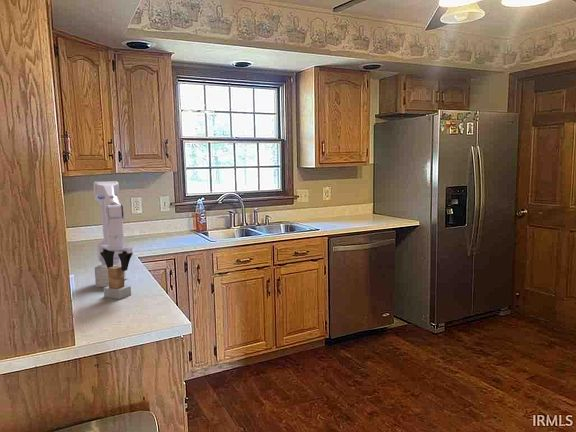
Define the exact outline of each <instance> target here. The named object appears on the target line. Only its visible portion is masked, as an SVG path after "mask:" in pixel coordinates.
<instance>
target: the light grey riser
mask: <svg viewBox="0 0 576 432" xmlns="http://www.w3.org/2000/svg"><path fill="white" fill-rule="evenodd" d="M124 285H125V284H124ZM131 295H132V289H131V285H127V284H126V285H125V286H124V287H121V288H119V289H113V288H109V286H108V287H103V297H105V298H110V299H117V300H121V299H124V298H126V297H128V296H131Z"/></svg>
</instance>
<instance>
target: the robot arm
mask: <svg viewBox="0 0 576 432" xmlns="http://www.w3.org/2000/svg"><path fill="white" fill-rule="evenodd" d="M119 184H120V183H119V182H118V181H117V180H115V181H94V182H93V195H94V196H93V198H94V200H95V202H98V203H99V205H100V207H101V208H100V210H101V223H102V234H103V239H102V240H101V241H99V242H98V244H97V246H96V247H97V249H96V251H97V252H96V253H97V261H99V262H101V265H106V266H107V268H109V267H113V265H117V266H121V268H122V271H124V281H125V280H128V277H127V276H126V271H128V268H129V263H130V262H131V261H130V260H131V259H132V256H133V247H130V246H126V245H125V240H124V239H125V238H124V217H125V210H124V204H123V203H120V199H119V194H120V186H119Z"/></svg>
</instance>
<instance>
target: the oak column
mask: <svg viewBox="0 0 576 432" xmlns="http://www.w3.org/2000/svg"><path fill="white" fill-rule="evenodd" d="M108 277H109V288H113V289H119V288H121V287H124V286H125V280H124V271H122V268H121V266H113V267H109V268H108Z"/></svg>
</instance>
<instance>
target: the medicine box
mask: <svg viewBox="0 0 576 432" xmlns="http://www.w3.org/2000/svg"><path fill="white" fill-rule="evenodd" d="M113 266H117V265H113ZM94 277H95V281H94V282H95V288H105V287H108V286H109V277H108V268H107V266H106V265H102V264H101V265H100V264H99V265H97V266H95V267H94Z"/></svg>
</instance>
